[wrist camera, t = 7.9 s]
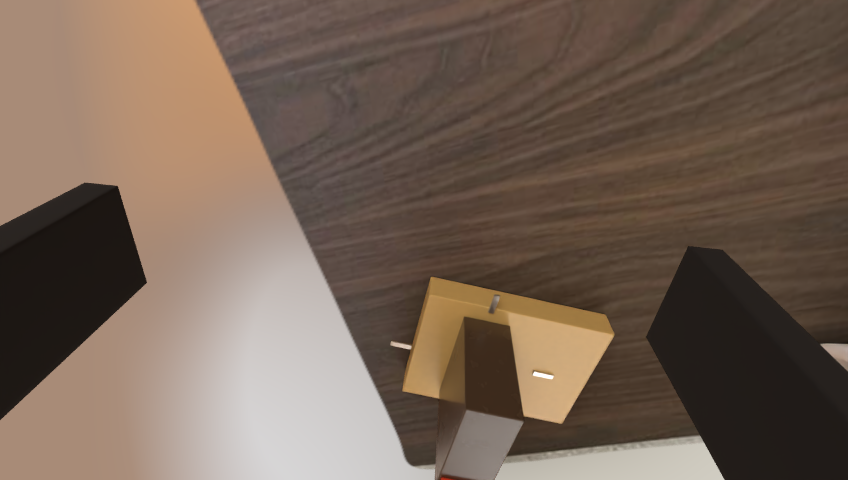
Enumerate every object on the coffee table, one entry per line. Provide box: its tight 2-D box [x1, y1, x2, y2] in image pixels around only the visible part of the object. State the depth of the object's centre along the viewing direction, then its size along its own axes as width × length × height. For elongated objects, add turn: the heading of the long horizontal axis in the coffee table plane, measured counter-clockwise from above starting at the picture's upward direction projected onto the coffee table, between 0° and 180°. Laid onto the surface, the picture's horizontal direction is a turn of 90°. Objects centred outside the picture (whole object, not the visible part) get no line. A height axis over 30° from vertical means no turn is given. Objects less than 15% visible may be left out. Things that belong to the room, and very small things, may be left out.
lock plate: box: [391, 277, 614, 424], centre depth 30 cm, size 14×11×2 cm
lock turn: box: [435, 317, 524, 480], centre depth 26 cm, size 7×3×7 cm, turn 168°
